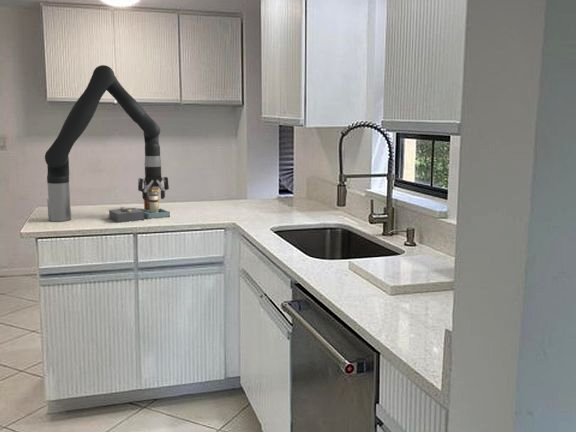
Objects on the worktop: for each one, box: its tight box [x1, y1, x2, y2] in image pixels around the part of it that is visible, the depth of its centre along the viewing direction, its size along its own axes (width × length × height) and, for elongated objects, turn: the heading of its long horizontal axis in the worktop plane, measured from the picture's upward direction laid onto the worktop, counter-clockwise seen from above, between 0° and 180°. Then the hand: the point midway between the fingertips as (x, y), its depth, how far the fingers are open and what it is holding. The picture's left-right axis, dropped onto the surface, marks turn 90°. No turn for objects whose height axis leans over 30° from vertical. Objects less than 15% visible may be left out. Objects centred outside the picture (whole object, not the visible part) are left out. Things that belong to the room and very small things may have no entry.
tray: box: [140, 207, 171, 220], centre depth 282 cm, size 11×11×2 cm
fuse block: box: [108, 206, 145, 224], centre depth 273 cm, size 12×12×5 cm
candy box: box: [143, 181, 160, 210], centre depth 296 cm, size 9×4×15 cm, turn 39°
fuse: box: [149, 192, 159, 213], centre depth 281 cm, size 4×4×11 cm
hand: (153, 199), depth 281 cm, fingers open, 8 cm apart
